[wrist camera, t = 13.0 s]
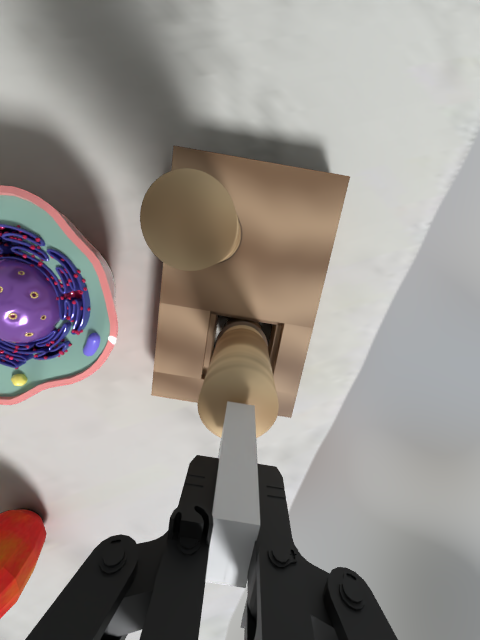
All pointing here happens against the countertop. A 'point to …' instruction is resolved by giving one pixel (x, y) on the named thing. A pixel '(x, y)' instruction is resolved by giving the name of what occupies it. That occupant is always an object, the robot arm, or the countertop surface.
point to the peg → (239, 377)
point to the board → (238, 261)
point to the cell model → (49, 299)
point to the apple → (18, 553)
